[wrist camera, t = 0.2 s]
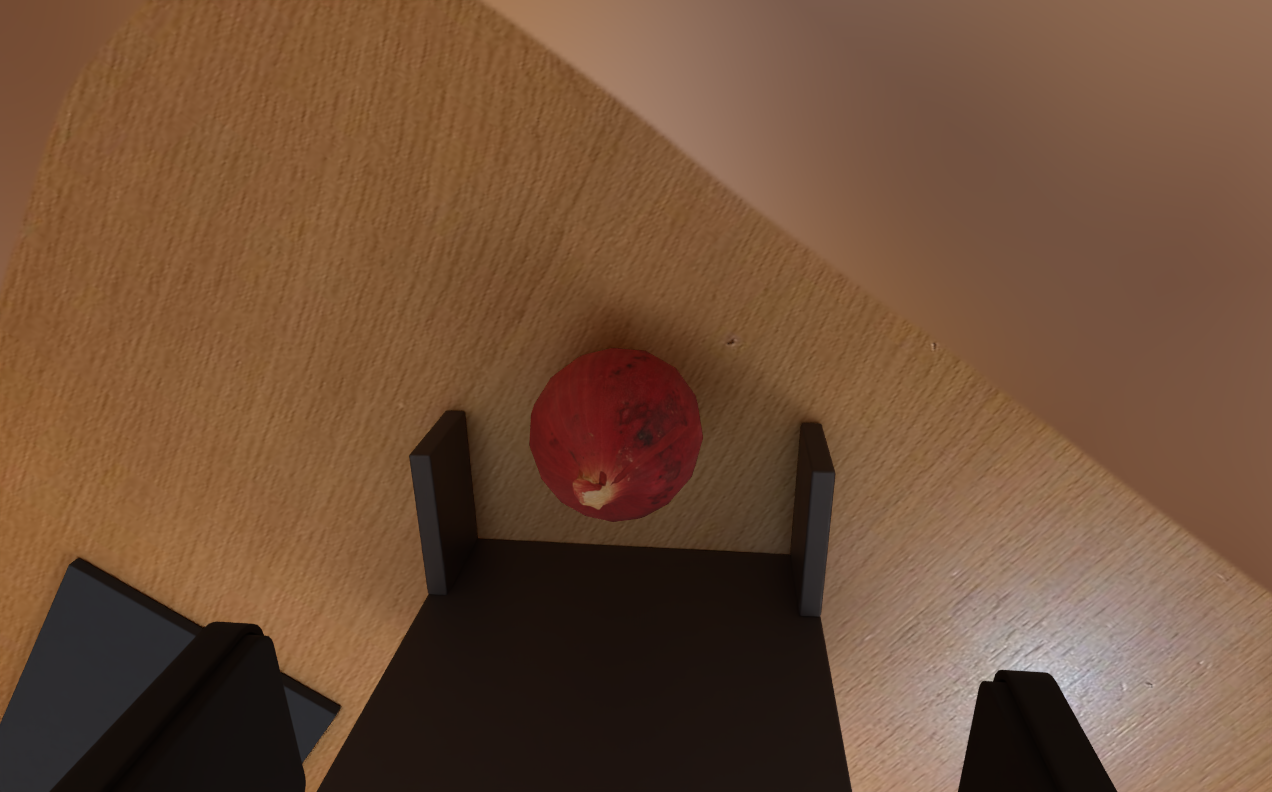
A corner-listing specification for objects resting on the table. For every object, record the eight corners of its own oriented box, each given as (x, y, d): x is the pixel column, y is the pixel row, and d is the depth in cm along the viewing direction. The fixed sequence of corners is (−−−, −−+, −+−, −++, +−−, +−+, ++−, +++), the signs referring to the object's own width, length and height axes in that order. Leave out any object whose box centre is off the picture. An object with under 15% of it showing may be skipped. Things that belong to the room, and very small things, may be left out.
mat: (78, 557, 36) (68, 564, 35) (341, 706, 38) (335, 715, 37) (-41, 830, 45) (-51, 839, 44) (176, 939, 47) (169, 950, 46)
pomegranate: (645, 290, 28) (618, 367, 21) (733, 410, 29) (737, 521, 22) (524, 374, 30) (460, 472, 22) (614, 483, 31) (580, 609, 24)
